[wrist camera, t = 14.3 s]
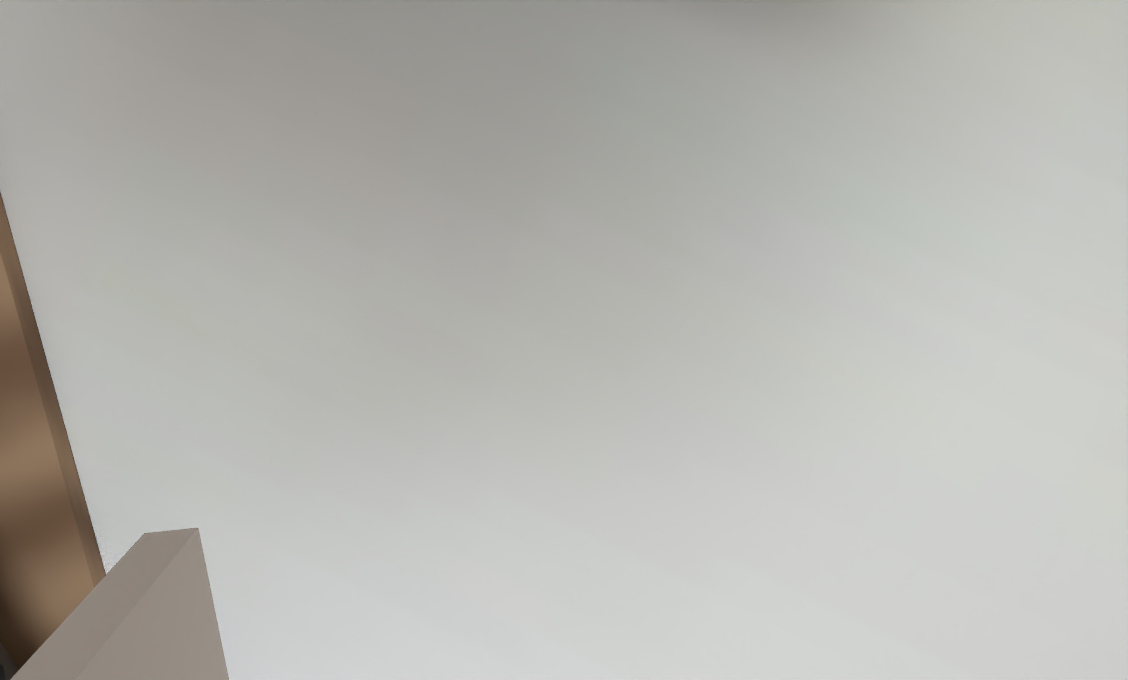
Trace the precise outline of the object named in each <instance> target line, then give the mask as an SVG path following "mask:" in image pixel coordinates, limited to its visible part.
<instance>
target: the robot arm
mask: <svg viewBox="0 0 1128 680" xmlns="http://www.w3.org/2000/svg"><path fill="white" fill-rule="evenodd" d="M10 680H229V678H228V673H227V668H226V663H225V658H224V653H223V648H222V643H221V638H220V633H219V628H218V623H217V618H216V613H215V609H214V604H213V599H212V594H211V589H210V584H209V579H208V574H207V569H206V564H205V559H204V554H203V549H202V544H201V539H200V534H199V529H198V528H191V529H181V530H172V531H162V532H152V533H144V534H143V535H142V536H141V537H140V539H139V540H138V541H137V542H136V543H135V544H134V545H133V546H132V547H131V548H130V549H129V551H128V552H127V553H126V554H125V555H124V556H123V557H122V558H121V559H120V560H119V561H118V563H117V564H116V565H115V566H114V567H113V568H112V569H111V570H110V571H109V572H108V573H107V575H106V576H105V577H104V578H103V579H102V580H101V581H100V582H99V583H98V584H97V585H96V587H95V588H94V589H93V590H92V591H91V592H90V593H89V594H88V595H87V596H86V597H85V599H84V600H83V601H82V602H81V603H80V604H79V605H78V606H77V607H76V608H75V609H74V611H73V612H72V613H71V614H70V615H69V616H68V617H67V618H66V619H65V620H64V622H63V623H62V624H61V625H60V626H59V627H58V628H57V629H56V630H55V631H54V632H53V634H52V635H51V636H50V637H49V638H48V639H47V640H46V641H45V642H44V643H43V644H42V646H41V647H40V648H39V649H38V650H37V651H36V652H35V653H34V654H33V655H32V656H31V658H30V659H29V660H28V661H27V662H26V663H25V664H24V665H23V666H22V667H21V668H20V670H19V671H18V672H17V673H16V674H15V675H14V676H13V677H12V678H11V679H10Z"/></svg>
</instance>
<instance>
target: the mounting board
mask: <svg viewBox="0 0 1128 680" xmlns="http://www.w3.org/2000/svg"><path fill="white" fill-rule="evenodd" d="M105 576H106V574H105V571H104V567H103V564H102V560H101V556H100V553H99V549H98V545H97V542H96V538H95V535H94V531H93V527H92V524H91V520H90V516H89V513H88V509H87V506H86V502H85V498H84V495H83V491H82V488H81V484H80V480H79V477H78V473H77V469H76V466H75V462H74V459H73V455H72V451H71V448H70V444H69V440H68V437H67V433H66V430H65V426H64V422H63V419H62V415H61V411H60V408H59V404H58V401H57V397H56V393H55V390H54V386H53V382H52V379H51V375H50V372H49V368H48V364H47V361H46V357H45V353H44V350H43V346H42V343H41V339H40V335H39V332H38V328H37V324H36V321H35V317H34V314H33V310H32V306H31V303H30V299H29V296H28V292H27V288H26V285H25V281H24V277H23V274H22V270H21V267H20V263H19V259H18V256H17V252H16V248H15V245H14V241H13V238H12V234H11V230H10V227H9V223H8V219H7V216H6V212H5V209H4V205H3V201H2V198H1V194H0V641H1V643H2V644H3V646H4V647H5V649H6V650H7V652H8V653H9V655H10V656H11V658H12V660H13V661H14V663H15V664H16V666H17V667H18V669H19V670H20V668H21V667H22V666H23V665H24V664H25V663H26V662H27V661H28V660H29V659H30V658H31V656H32V655H33V654H34V653H35V652H36V651H37V650H38V649H39V648H40V647H41V646H42V644H43V643H44V642H45V641H46V640H47V639H48V638H49V637H50V636H51V635H52V634H53V632H54V631H55V630H56V629H57V628H58V627H59V626H60V625H61V624H62V623H63V622H64V620H65V619H66V618H67V617H68V616H69V615H70V614H71V613H72V612H73V611H74V609H75V608H76V607H77V606H78V605H79V604H80V603H81V602H82V601H83V600H84V599H85V597H86V596H87V595H88V594H89V593H90V592H91V591H92V590H93V589H94V588H95V587H96V585H97V584H98V583H99V582H100V581H101V580H102V579H103V578H104V577H105Z"/></svg>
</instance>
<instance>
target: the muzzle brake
mask: <svg viewBox="0 0 1128 680" xmlns="http://www.w3.org/2000/svg"><path fill="white" fill-rule="evenodd" d="M18 671H19V669H18V667H17V666H16V664H15V663H14V661H13V660H12V658H11V656H10V655H9V653H8V652H7V650H6V649H5V647H4V646H3V644H2V643H1V641H0V680H10V679H11V678H12V677H13V676H14V675H15V674H16V673H17V672H18Z"/></svg>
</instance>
